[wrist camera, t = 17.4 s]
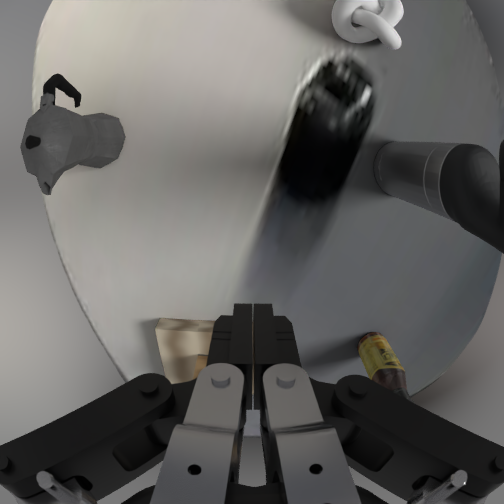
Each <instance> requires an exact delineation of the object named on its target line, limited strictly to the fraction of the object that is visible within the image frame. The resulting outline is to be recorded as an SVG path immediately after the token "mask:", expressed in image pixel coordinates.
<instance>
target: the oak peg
mask: <svg viewBox="0 0 504 504" xmlns="http://www.w3.org/2000/svg"><path fill="white" fill-rule="evenodd" d="M207 358H208V355H204V354H198V357H197V361H196V366H195V370H194V375H193V379H195V378H197V377H198V375H199V373H200V371H201V370H202V369H203V368H205V367H206V364H207Z"/></svg>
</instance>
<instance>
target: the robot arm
mask: <svg viewBox="0 0 504 504" xmlns="http://www.w3.org/2000/svg"><path fill="white" fill-rule="evenodd" d="M374 173H375V178H376V180H377V183H378V185H379V186H380V188H381V189H382V190H383V191H384V192H386V193H387V194H389V195H391V196H394V197H396V198H399V199H401V200H404V201H407V202H409V203H412V204H414V205H417V206H419V207H422V208H424V209H427V210H429V211H431V212H434V213H436V214H438V215H441V216H443V217H446V218H448V219H450V220H452V221H455V222H457V223H459V224H460V226H461V227H462V228H464V229H465V230H467V231H468V232H470V233H472V234H474V235H475V236H477V237H479V238H481V239H482V240H484V241H485V242H487V243H489V244H490V245H492V246H493V247H495V248H496V249H498V250H499V251H501V252H502V253H504V140H503V141H502V142H501V145H500V152H499V165H498V163H497V161H496V159H495V158H494V156H493V155H492V154H491V153H490V152H489V151H488V150H487V149H485V148H483V147H481V146H479V145H474V144H462V143H441V142H391V143H388V144H386V145H384V146H383V147H382V148H381V149H380V150H379V152H378V154H377V156H376V158H375V163H374ZM252 386H253V388H254V410H260V434H261V441H262V449H263V456H264V463H265V472H266V485H263V486H259V487H250V486H245V485H241V484H239V469H240V460H241V452H242V443H243V435H244V425H245V423H246V410H252ZM161 461H163V463H162V467H161V469H160V473H159V476H158V479H157V482H156V485H153V486H151V487H148V488H145V489H144V490H142V491H139V492H138V493H136V494H135V495H133V496H132V497H130V498H129V499H127V500H126V501H124V502H123V503H121V504H388V503H387V502H385V501H383V500H382V499H380V498H379V497H377V496H376V495H374V494H373V493H371V492H370V491H368V490H366V489H364V488H362V487H359V486H357V485H355V484H354V481H353V478H352V475H351V472H350V469H349V466H350V467H351V468H353V469H354V470H356V471H357V472H359V473H360V474H362V475H364V476H365V477H367V478H368V479H370V480H371V481H373V482H375V483H376V484H378V485H380V486H381V487H383V488H385V489H387V490H388V491H390V492H391V493H393V494H395V495H397V496H399V497H400V498H402V499H404V500H406V501H407V504H484V502H485V500H486V498H487V496H488V495H489V494H490V493H491V492H492V491H494V490H495V489H496V488H498V487H499V486H500V485H502V484H503V483H504V447H503V446H500V445H498V444H496V443H494V442H492V441H489V440H487V439H485V438H483V437H481V436H478V435H476V434H474V433H472V432H470V431H468V430H466V429H464V428H462V427H460V426H457V425H455V424H453V423H451V422H449V421H447V420H445V419H443V418H441V417H439V416H438V415H436V414H433V413H431V412H430V411H428V410H426V409H424V408H422V407H420V406H418V405H416V404H415V403H413V402H411V401H409V400H407V399H405V398H403V397H402V396H400V395H398V394H396V393H394V392H392V391H391V390H389V389H387V388H385V387H383V386H382V385H380V384H378V383H376V382H375V381H373V380H371V379H369V378H367V377H365V376H361V375H348V376H345V377H343V378H341V379H340V380H339V381H338V382H337V384H330V383H324V382H319V381H316V380H314V379H312V378H310V377H309V376H308V374H307V373H306V371H305V370H303V369H302V367H301V363H300V358H299V354H298V349H297V345H296V340H295V335H294V331H293V326H292V323H291V322H290V321H289V320H288V319H287V318H286V316H273V308H272V304H254V313H253V323H252V304H237V303H234V311H233V316H227V315H221V316H220V317H219V318H218V319H217V320H216V321H215V322H214V326H213V333H212V337H211V342H210V347H209V353H208V358H207V364H206V367H205V368H203V369H202V370H201V371H200V373H199V375H198V377H197V378H195V379H193V380H191V381H187V382H182V383H175V384H171V382H170V381H169V380H168V379H167V378H166V377H165V376H162V375H160V374H155V373H148V374H143V375H140V376H138V377H136V378H134V379H132V380H131V381H129V382H127V383H125V384H123V385H122V386H120V387H118V388H116V389H114V390H113V391H111V392H109V393H107V394H105V395H103V396H101V397H100V398H98V399H96V400H94V401H92V402H90V403H88V404H87V405H84V406H83V407H81V408H79V409H77V410H75V411H73V412H71V413H69V414H67V415H65V416H63V417H61V418H59V419H57V420H55V421H53V422H51V423H49V424H47V425H45V426H43V427H40V428H38V429H36V430H34V431H32V432H30V433H28V434H26V435H23V436H21V437H19V438H17V439H14V440H12V441H10V442H8V443H5V444H3V445H1V446H0V484H1V485H2V486H3V487H4V488H6V489H7V490H8V491H10V493H12V495H14V497H15V498H16V500H17V502H18V504H97V501H98V500H100V499H102V498H104V497H105V496H107V495H109V494H111V493H112V492H114V491H116V490H118V489H119V488H121V487H123V486H124V485H126V484H128V483H129V482H131V481H132V480H134V479H136V478H137V477H139V476H140V475H142V474H143V473H145V472H146V471H148V470H149V469H151V468H152V467H154V466H155V465H157V464H158V463H160V462H161Z"/></svg>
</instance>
